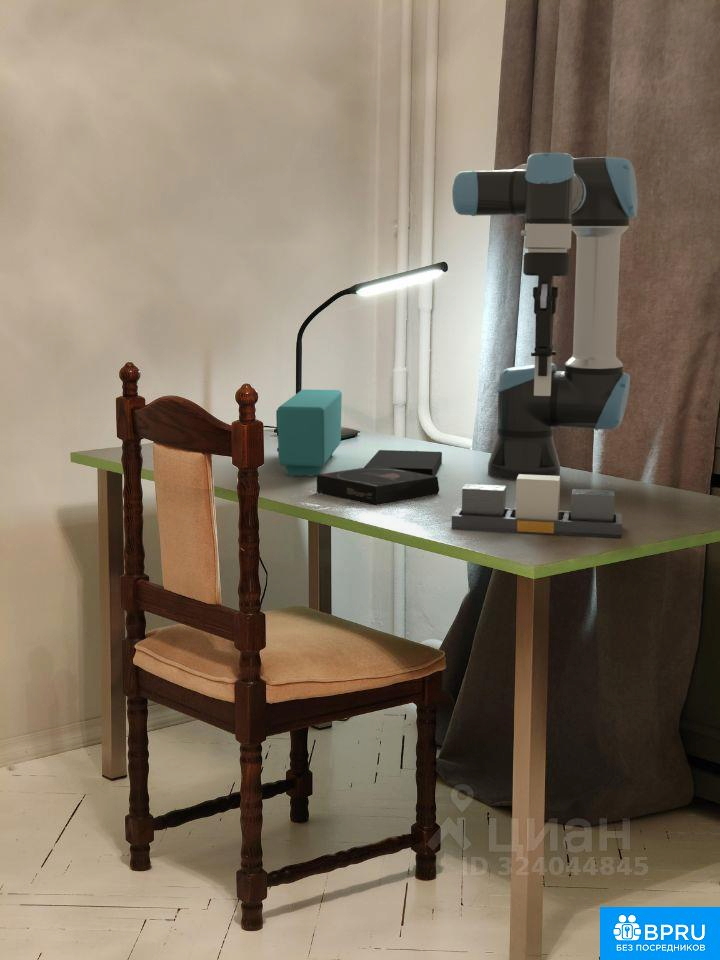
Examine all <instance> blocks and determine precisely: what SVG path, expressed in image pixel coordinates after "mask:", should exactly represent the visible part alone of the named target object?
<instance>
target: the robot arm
mask: <svg viewBox="0 0 720 960" xmlns="http://www.w3.org/2000/svg"><path fill="white" fill-rule="evenodd" d="M527 157H528V158H527V161H526V163H523V164H519V165H518V166H515V167H514V168H512V169H500V170H499V169H498V170H495V169H494V170H474V169H473V170H469V171H468V170H465V171H464V170H463V171H460V172H458V173H457V174H456V175H455V177H454V180H453V184H452V205H453V209H454V211H455V212H456V214H458V215H461V216H471V217H477V216H478V217H480V216H524V228H525V229H522V230H521V232H520V236H522V237H524V240H523V241H524V243H523V244H524V245H523V247H524V249H526V250H527V252H524V254H523V263H522V264H523V268H522V271H523V274H524V275H525V276H531V277H533V276H534V277H538V278H537V279H538V280H537V286H534V287H532V297H533V300H534V302H533V312H534V315H535V340H534V341H535V344H534V345H535V347H534V349H533V351H531V353H530V357H534V364H526V365H518V366H511V367H508V368H505V369H503V370H502V371H501V373H500V374H499V383H498V389H497V394H498V396H497V400H498V401H497V435H496V441H495V444H494V445H493V449H492V450H491V451H492V452H491V454H490V456H489V460H488V465H487V474H488V475H489V476H491V477H495V478H499V479H504V480H513V481H515V480H516V481H517V477H518V475H519V474H526V475H548V476H560V477H561V463H560V461H559V457H558V452H557V449H556V447H555V442H554V428H564V429H565V428H567V429H569V428H570V429H586V430H588V429H589V430H595V431H599V430H605V431H606V430H615V429H617V428H618V427H619V426H620V425H621V424H622V422H623V419H624V417H625V413H626V408H627V405H628V400H629V393H630V388H631V384H630V383H631V375H630V374H629V373H626V372H624V370H623V368H624V365H623V362H622V361H621V360H620V359H619V358H618V357H617V355H616V354H617V351H616V350H617V331H618V330H617V328H618V308H619V307H618V306H619V305H618V304H619V283H620V282H619V281H620V279H619V278H620V277H619V276H620V260H621V259H620V257H621V255H620V253H621V237H622V235H623V234H624V233H625V232H626V231H627V230H628V229H629V228H630V227H629V226H630V220H632V219H634V218H636V217H637V216H638V207H639V206H638V205H639V196H638V188H637V187H638V186H637V178H636V172H635V169H634V166H633V163H632V162H631V161H630V160H629V159H628V158H625V157H613V156H612V157H611V156H610V157H609V156H604V157H603V156H602V157H575V158H574V157H573V156H572V155H571V154H570V153H568V152H567V153H566V152H537V153H532V154H529V156H527ZM572 232H573V233H574V234H575V235H576V256H575V257H576V258H575V280H574V281H575V284H574V285H575V288H574V289H575V290H574V315H573V316H574V317H573V319H574V320H573V339H572V340H573V343H572V347H573V348H572V356H571V357H570V358H568V360H567V361H565V363H564V371H563V370H557V366H556V364H555V363H553V356H556V355H557V351H554V350H553V348H554V347H553V346H554V345H553V334H554V316H555V314H556V312H557V298H558V296H559V287H558V286H555V277H565V276H568V275H570V273H571V270H570V269H571V254H570V253H569V252H568V250H570V249H571V248H572Z"/></svg>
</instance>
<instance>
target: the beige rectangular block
mask: <svg viewBox="0 0 720 960" xmlns="http://www.w3.org/2000/svg"><path fill="white" fill-rule="evenodd" d="M515 488H516V489H515V508H516V512H515V518H529V519H548V520H559V511H560V497H561V496H560V493H561V491H560V490H561V475H560V476H548V475H526V474H519V475H518V477H517V480H516V487H515Z"/></svg>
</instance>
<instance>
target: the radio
mask: <svg viewBox="0 0 720 960" xmlns="http://www.w3.org/2000/svg"><path fill="white" fill-rule="evenodd" d="M342 397H343V396H342V391H341V390H338V389H337V390H336V389H301V390H300V391H298V392H297V393H296V394H295V395H293V396H292V397H290V398H289V399H287V400H286V401H285V402H284V403H282V404H281V405H279V406H278V408H277V410H276V411H275V412H276V414H275V415H276V419H275V420H276V430H277V440H278V441H277V443H278V444H277V449H276V452H277V453H278V464H279V465H280V466H284V467H286V468H285V469H286V472H287V476H288V475H318V474H320V470H321V468H322V467H323V466H324V465H325V464H326V463H327V462H328V460H329V459H330V458H332V457H333V454H334V452H335V451H336V449H337V448H338V447H339V446H340V444H341V442H342V439H341V438H342V437H341V436H342Z"/></svg>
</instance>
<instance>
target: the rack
mask: <svg viewBox="0 0 720 960" xmlns="http://www.w3.org/2000/svg"><path fill="white" fill-rule="evenodd" d="M461 491H462V492H461V505H457V507H456V509H455V510H454V512H453V513H452V514H451V530H457V529H460V530H461V531H463V530H464V531H476V532H477V531H479V532H495V533H496V532H498V533H500V532H501V533H513V534H514V533H515V534H536V535H537V534H539V535H550V536H551V535H554V536H573V537H590V538H592V537H593V538H606V539H607V538H608V539H609V538H611V539H622V535H623V533H622V531H623V514H622V513H619V512H617V513H616V512H615V496H616V495H615V494H616V493H615V490H604V489H586V488H585V489H581V488H572V489H571V497H570V499H571V500H570V501H571V502H570V510H559V520H548V519H529V518H515V512H516V507H514V508H513V507H506V505H507V502H506V500H507V499H506V498H507V485H499V484H497V485H496V484H495V485H494V484H474V483H465V484H464V485H463V487H462V490H461Z"/></svg>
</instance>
